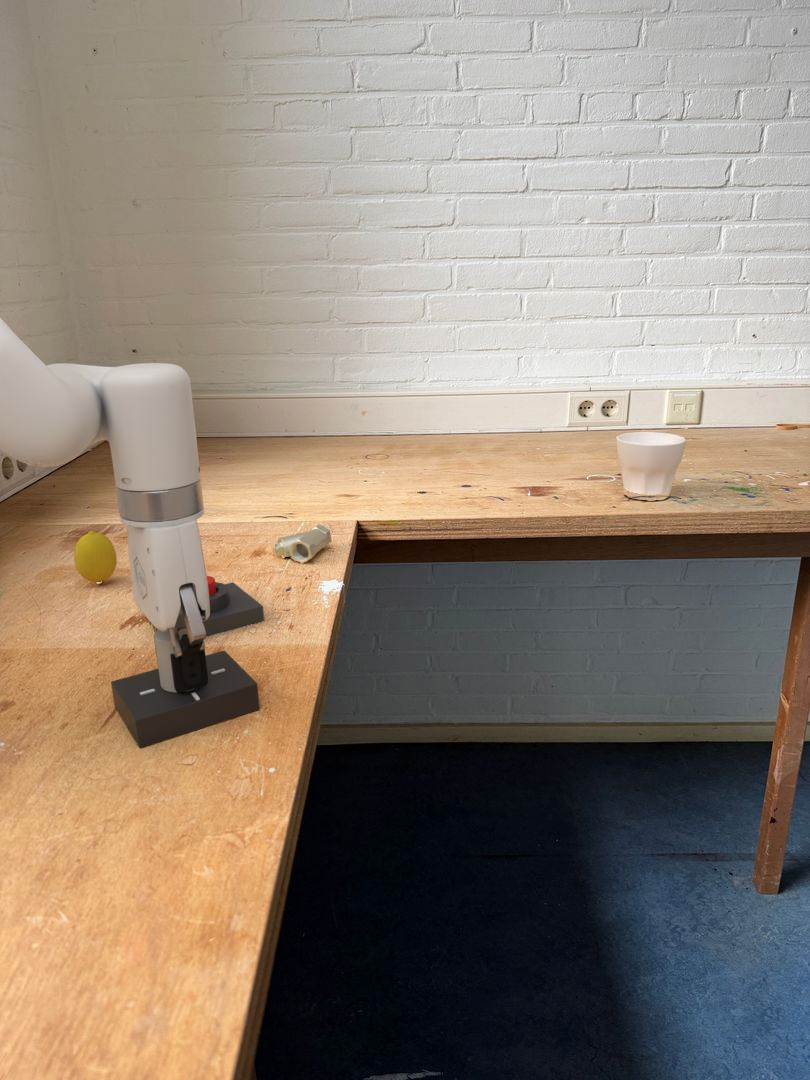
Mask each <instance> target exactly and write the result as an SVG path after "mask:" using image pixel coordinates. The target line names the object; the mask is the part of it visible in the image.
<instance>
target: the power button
mask: <svg viewBox="0 0 810 1080" xmlns="http://www.w3.org/2000/svg"><path fill="white" fill-rule="evenodd" d="M207 582H208V590H209V596H211V595H213V594H215V593H216V585H215V582H216V579H215V577H213V576H212V575H211V576H210V575H207Z"/></svg>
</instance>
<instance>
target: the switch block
mask: <svg viewBox="0 0 810 1080" xmlns="http://www.w3.org/2000/svg"><path fill="white" fill-rule="evenodd" d="M215 585H216V593H215V594H213V595H211V596H209V601H210V615H209V617H208V619H207V620H206V621H203V624H204V628H205V631H206V638H207V637H211V636H214V635H217V634H221V633H225V632H229V631H233V630H236V629H237V630H238V629H240V628H244V626H245V627H248V626H247V625H249V626H252V625H256V624H259V622H260V623H263V622H262V621H264V622H265V615H264V614H265V613H264V605H262V604H261V603H260V602H258V600H256V599H255V598H254V597H252V596H251V595H250V594H248V593H247V592H246V591H245V590H243V589H242V588H241V587H240V586H239V585H237V584H236V583H235V582H234V581H233V582H228V583H223V582H218V581H215ZM146 618H147V617H146V616H145V619H146ZM182 620H185V619H184V616H182ZM149 623H150V625H151V624H152V623H151V622H149ZM255 623H256V624H255ZM251 624H252V625H251Z"/></svg>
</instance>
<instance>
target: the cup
mask: <svg viewBox="0 0 810 1080" xmlns="http://www.w3.org/2000/svg"><path fill="white" fill-rule="evenodd" d="M615 438H616V449H617V460H618V461H619V463H620V469H621V477H622V486H623V489H624V488H625V489H626V490H627V491H629V492H633V493H638V494H644V495H645V494H646V495H650V494H651V495H654V494H655V495H656V494H664V493H667V492H669V491H670V492H672V491H671V490H672V487H673V484H674V480H675V476H676V474H677V469H678V468H679V466H680V465H681V463H682V460H683V456H684V452H685V447H686V443H687V440H686V439H685V437H684V436H681V435H678V434H674V433H667V432H657V431H633V432H625V433H620V434H619V435H617V436H615Z"/></svg>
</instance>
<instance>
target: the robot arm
mask: <svg viewBox="0 0 810 1080" xmlns="http://www.w3.org/2000/svg"><path fill="white" fill-rule="evenodd" d="M193 401H194V400H193V392H192V385H191V379H190V376H189V374H188V373H187V371H186V370H185V368H183V367H182V366H180V365H178V364H174V363H166V362H165V363H164V362H144V363H143V362H142V363H132V364H124V365H119V366H101V365H90V364H78V363H65V362H61V363H52V364H47V365H46V363H44V362H43V361H42V360H41V359H40V358H39V357H38V356H37V355H36V354H35V353H34V352H33V351H32V350H31V349H30V348H29V346H28V345H27V344H25V343H24V342H23V341H22V339H21V338H20V337H19V336H18V335H17V334H16V333H15V331H13V330H12V329H11V327H9V326H8V324H7V323H6V322H5V321H4V320H3V318H2V317H1V316H0V451H2V452H3V453H4V454H6V455H7V456H9V457H11V458H13V459H14V460H17V461H18V462H20V463H23V464H26V465H28V466H33V467H39V468H53V467H58V466H62V465H65V464H67V463H69V462H71V461H73V460H74V459H76V458H77V457H78V456H80V455H81V454H82V453H83V452H84V451H85V449H87V448H88V447H89V446H91V445H93V444H95V443H97V442H101V441H107V442H108V444H109V448H110V455H111V463H112V468H113V476H114V483H115V491H116V492H115V493H116V498H117V507H118V513H119V519H120V523H122V525H125V526H126V532H127V534H126V535H127V547H128V560H129V570H130V580H131V590H132V592H131V593H132V598H133V600H134V603H135V605H136V607H137V608H138V610H140V611H141V613H142V614H143V615H144V616H145V618H146V617H147V619H148V620H149V621H150V622H151V623H152V625H151V627H152V630H153V633H155V632H156V631H157V630H158V629H159V630H160V631H163V632H164V631H167V630H168V628H169V632H170V637H171V642H172V647H173V652H174V654H170V658H171V666H172V673H173V681H174V688H175V690H176V692H178V693H182V692H185V691H189V690H192V689H195V688H199V687H202V686H205V685H207V684H208V674H207V665H206V645H205V644H206V643H205V639H207V637H206V631H205V628H204V624H203V621H206V620H207V619H208V617H209V615H210V601H209V590H208V582H207V576H208V575H207V569H206V563H205V556H204V551H203V545H202V544H203V543H202V539H201V534H200V528H199V524H198V519H200V518H202V517H203V516H204V514H205V505H204V503H205V502H204V494H203V487H202V486H203V485H202V478H201V468H200V460H199V459H200V458H199V450H198V439H197V430H196V420H195V411H194V410H195V409H194V402H193ZM182 616H184V619H185V620H182ZM147 619H146V620H147ZM148 620H147V621H148ZM149 621H148V622H149ZM150 622H149V623H150ZM151 623H150V624H151ZM184 628H187V632H186V634H184V635H182V637H181V640H180V638H179V633H178V630H180V629H184ZM153 642H154V643H155V639H154V638H153ZM154 648H155V649H154V650H156V647H155V646H154ZM155 655H156V656H155V657H157V654H156V653H155ZM156 662H157V661H156ZM157 665H158V662H157Z"/></svg>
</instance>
